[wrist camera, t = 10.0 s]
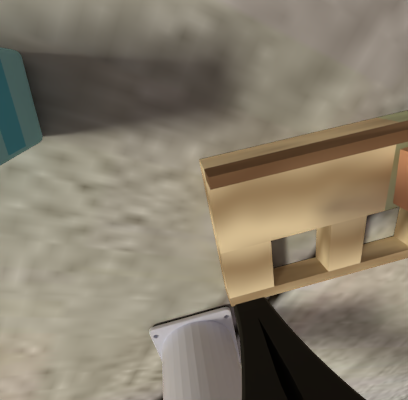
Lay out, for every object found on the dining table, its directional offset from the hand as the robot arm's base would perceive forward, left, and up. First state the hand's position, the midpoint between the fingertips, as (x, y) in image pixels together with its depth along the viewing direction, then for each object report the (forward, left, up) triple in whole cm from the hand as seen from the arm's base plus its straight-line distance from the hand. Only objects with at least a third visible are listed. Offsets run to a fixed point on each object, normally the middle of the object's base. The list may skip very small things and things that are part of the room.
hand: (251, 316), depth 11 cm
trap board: (-2, -10, -10) cm, 14 cm away
